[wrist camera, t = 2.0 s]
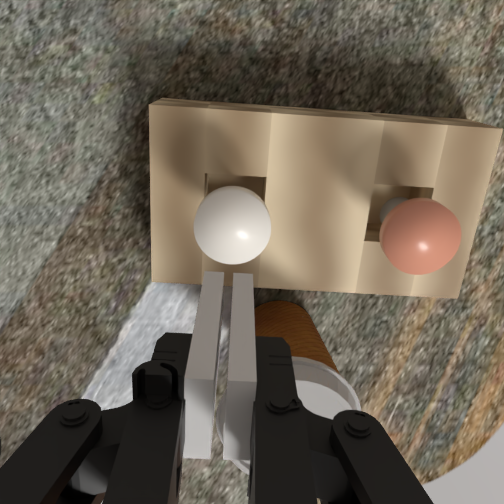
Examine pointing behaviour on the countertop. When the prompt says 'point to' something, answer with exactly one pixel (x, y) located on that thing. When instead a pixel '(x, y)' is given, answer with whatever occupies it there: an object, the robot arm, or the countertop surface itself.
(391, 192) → the block
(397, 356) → the countertop surface
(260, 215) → the white mushroom knob
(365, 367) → the countertop surface
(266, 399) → the robot arm
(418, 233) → the pink round-capped knob part
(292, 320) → the disposable coffee cup
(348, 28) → the countertop surface
